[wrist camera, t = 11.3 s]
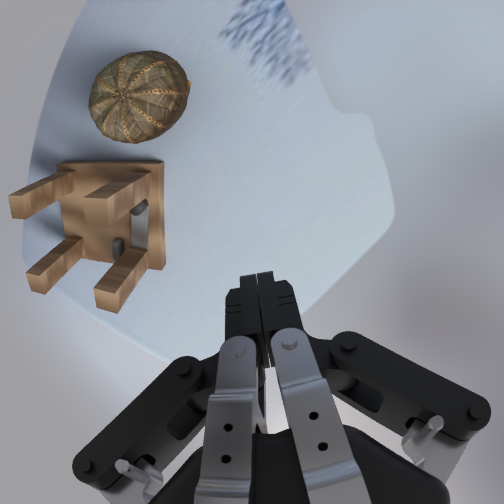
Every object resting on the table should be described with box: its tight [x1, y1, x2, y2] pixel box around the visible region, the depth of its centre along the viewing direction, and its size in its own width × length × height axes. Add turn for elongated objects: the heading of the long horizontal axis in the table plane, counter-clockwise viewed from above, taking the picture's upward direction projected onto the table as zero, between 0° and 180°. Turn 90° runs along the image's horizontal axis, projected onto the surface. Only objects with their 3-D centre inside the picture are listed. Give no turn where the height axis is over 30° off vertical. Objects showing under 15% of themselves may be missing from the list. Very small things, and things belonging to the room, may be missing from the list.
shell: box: [88, 51, 191, 144], centre depth 27 cm, size 11×11×12 cm
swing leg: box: [93, 198, 149, 314], centre depth 34 cm, size 10×3×12 cm, turn 170°
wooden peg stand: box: [9, 161, 166, 294], centre depth 34 cm, size 16×18×14 cm
